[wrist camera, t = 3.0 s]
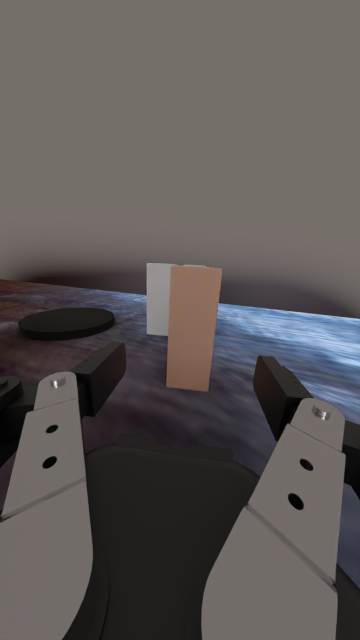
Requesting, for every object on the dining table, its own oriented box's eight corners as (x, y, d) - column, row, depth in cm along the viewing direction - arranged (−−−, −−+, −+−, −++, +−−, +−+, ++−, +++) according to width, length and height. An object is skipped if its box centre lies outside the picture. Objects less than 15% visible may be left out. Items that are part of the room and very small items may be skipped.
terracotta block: (166, 386, 22) (170, 266, 18) (172, 365, 27) (177, 265, 23) (207, 391, 22) (222, 269, 18) (206, 368, 27) (217, 268, 22)
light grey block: (146, 333, 38) (146, 263, 34) (152, 326, 43) (153, 263, 39) (170, 336, 38) (173, 264, 34) (174, 328, 42) (177, 264, 38)
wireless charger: (130, 324, 44) (130, 316, 44) (47, 351, 30) (45, 340, 29) (86, 311, 53) (85, 304, 52) (5, 327, 38) (3, 318, 38)
